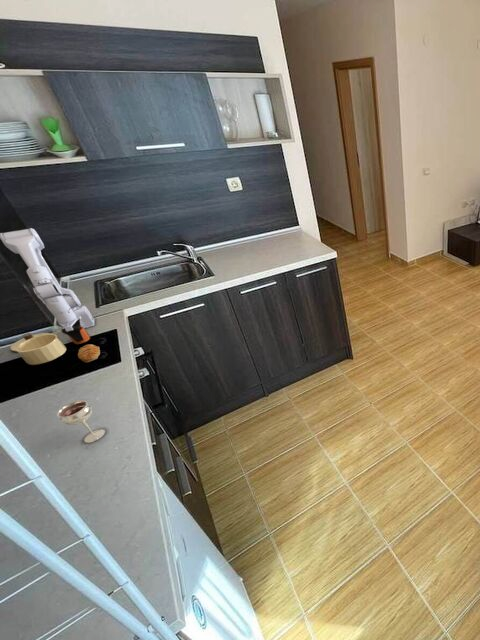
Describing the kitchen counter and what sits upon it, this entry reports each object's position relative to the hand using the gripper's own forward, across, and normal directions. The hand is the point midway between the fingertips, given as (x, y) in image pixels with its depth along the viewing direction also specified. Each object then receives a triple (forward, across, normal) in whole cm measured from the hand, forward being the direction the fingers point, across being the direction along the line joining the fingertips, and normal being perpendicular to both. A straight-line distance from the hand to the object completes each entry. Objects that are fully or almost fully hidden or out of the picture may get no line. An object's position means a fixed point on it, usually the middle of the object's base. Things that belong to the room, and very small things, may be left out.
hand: (80, 337), depth 148 cm
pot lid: (+1, +11, +16) cm, 19 cm away
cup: (+1, 0, 0) cm, 1 cm away
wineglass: (+2, -69, -3) cm, 69 cm away
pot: (+1, -4, +11) cm, 12 cm away
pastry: (+2, -17, -3) cm, 17 cm away
